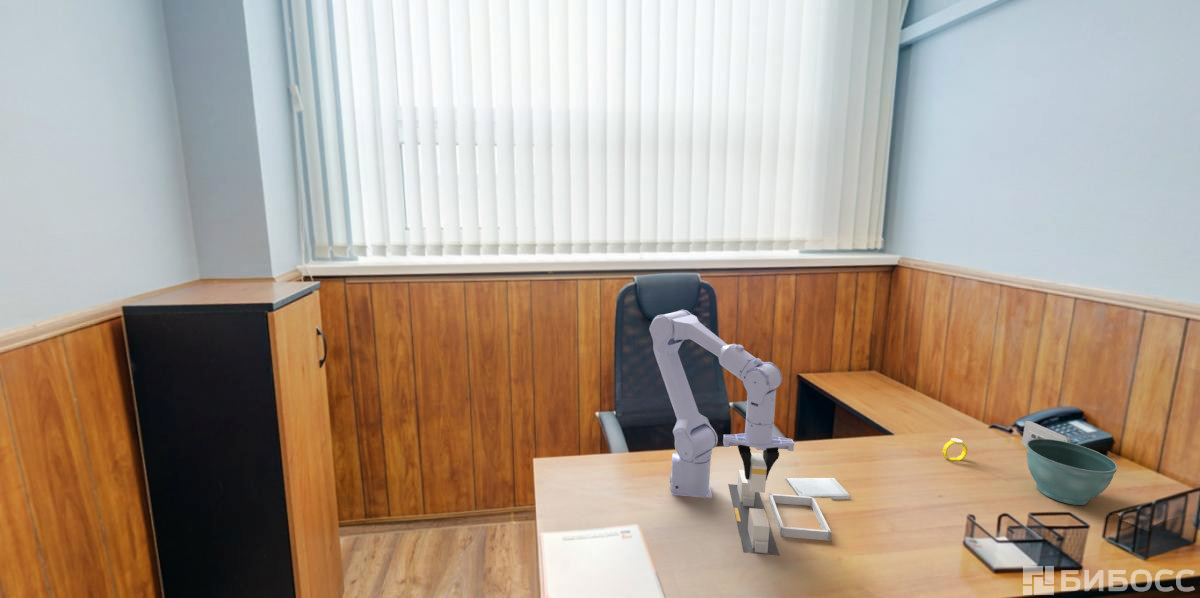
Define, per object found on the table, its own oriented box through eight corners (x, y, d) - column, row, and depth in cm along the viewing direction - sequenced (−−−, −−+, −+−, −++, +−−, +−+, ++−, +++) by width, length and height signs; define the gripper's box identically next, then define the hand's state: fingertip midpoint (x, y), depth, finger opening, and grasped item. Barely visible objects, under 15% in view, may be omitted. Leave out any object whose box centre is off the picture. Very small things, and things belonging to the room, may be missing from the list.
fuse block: (743, 554, 104) (744, 543, 103) (728, 486, 128) (728, 476, 128) (779, 557, 103) (780, 546, 102) (757, 488, 127) (757, 478, 127)
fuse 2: (752, 547, 105) (754, 525, 104) (747, 529, 111) (749, 508, 110) (767, 549, 105) (769, 526, 104) (762, 530, 110) (763, 509, 109)
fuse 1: (740, 502, 120) (742, 482, 120) (737, 488, 126) (738, 469, 125) (754, 503, 120) (755, 483, 119) (749, 489, 126) (751, 470, 125)
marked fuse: (750, 491, 111) (752, 466, 110) (746, 476, 117) (747, 452, 116) (764, 492, 110) (766, 467, 109) (759, 477, 116) (761, 453, 115)
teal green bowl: (1090, 486, 130) (1099, 446, 128) (1121, 522, 116) (1131, 477, 114) (1011, 471, 137) (1018, 433, 135) (1031, 503, 122) (1039, 461, 120)
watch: (959, 458, 144) (964, 438, 143) (967, 463, 142) (971, 443, 140) (938, 456, 144) (943, 436, 143) (945, 461, 141) (950, 441, 140)
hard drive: (799, 495, 123) (850, 494, 123) (785, 477, 131) (833, 476, 131) (798, 502, 123) (849, 501, 124) (784, 483, 131) (833, 482, 132)
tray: (780, 538, 109) (781, 528, 108) (768, 503, 121) (769, 493, 121) (830, 543, 108) (831, 532, 107) (812, 506, 120) (813, 496, 120)
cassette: (1019, 444, 152) (1023, 420, 151) (1025, 444, 152) (1029, 419, 151) (1061, 465, 141) (1066, 439, 139) (1066, 464, 141) (1072, 438, 139)
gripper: (727, 425, 108) (723, 484, 111) (799, 429, 106) (794, 490, 109) (723, 411, 115) (720, 468, 117) (791, 415, 113) (786, 472, 116)
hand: (755, 477), depth 114 cm, fingers closed on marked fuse, 3 cm apart
